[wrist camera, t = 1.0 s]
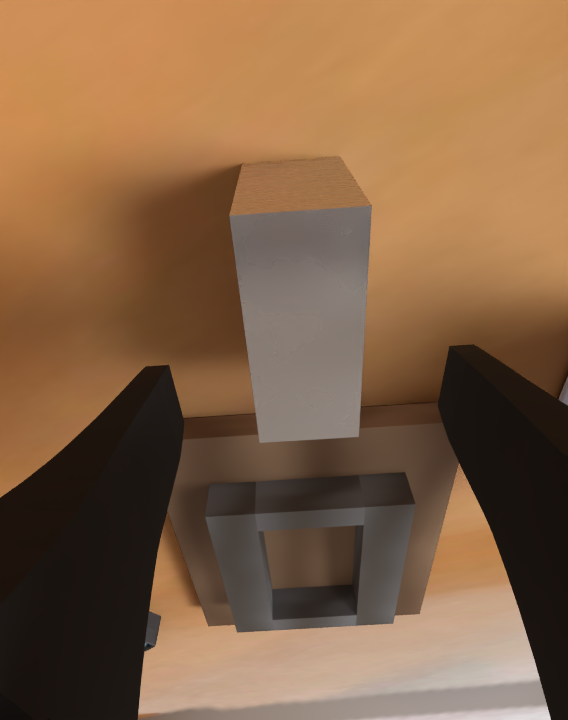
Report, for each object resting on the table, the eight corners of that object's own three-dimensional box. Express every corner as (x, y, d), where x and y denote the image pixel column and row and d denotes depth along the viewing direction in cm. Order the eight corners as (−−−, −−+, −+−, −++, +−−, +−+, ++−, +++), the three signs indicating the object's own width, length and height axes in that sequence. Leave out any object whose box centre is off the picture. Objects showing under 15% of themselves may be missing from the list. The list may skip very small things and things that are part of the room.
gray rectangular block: (340, 156, 16) (371, 205, 11) (337, 342, 20) (358, 437, 15) (242, 163, 16) (229, 215, 11) (262, 347, 20) (259, 442, 15)
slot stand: (458, 401, 22) (485, 452, 19) (414, 593, 34) (427, 643, 31) (149, 420, 23) (131, 474, 20) (210, 605, 34) (205, 656, 31)
